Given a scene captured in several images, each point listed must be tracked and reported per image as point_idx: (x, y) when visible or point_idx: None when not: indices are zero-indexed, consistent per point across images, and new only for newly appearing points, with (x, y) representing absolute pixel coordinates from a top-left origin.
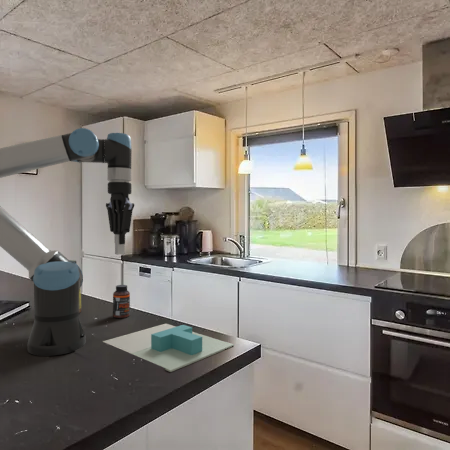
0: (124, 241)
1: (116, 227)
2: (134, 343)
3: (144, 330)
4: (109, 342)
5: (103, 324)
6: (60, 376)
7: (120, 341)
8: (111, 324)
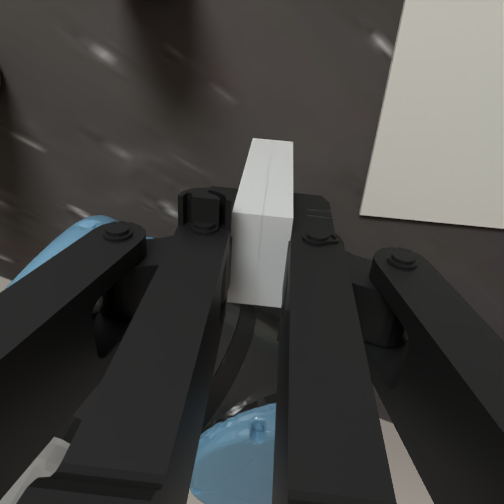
0: (327, 214)
1: (217, 342)
2: (461, 172)
3: (403, 55)
4: (385, 209)
5: (200, 90)
6: None
7: (408, 184)
8: (223, 70)
